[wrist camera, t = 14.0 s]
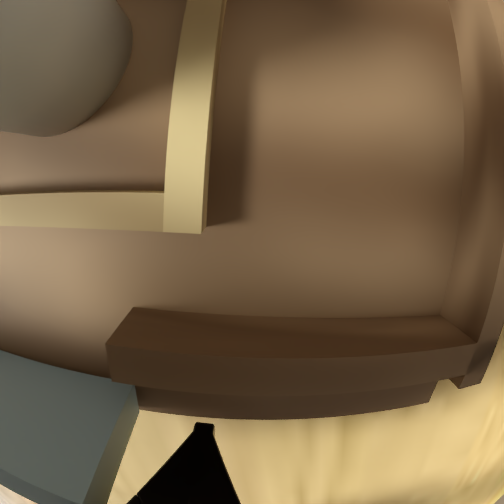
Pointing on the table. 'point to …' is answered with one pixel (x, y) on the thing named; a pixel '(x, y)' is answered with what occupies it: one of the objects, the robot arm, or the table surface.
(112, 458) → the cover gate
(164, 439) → the table surface
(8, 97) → the pin
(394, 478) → the table surface
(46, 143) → the tray
